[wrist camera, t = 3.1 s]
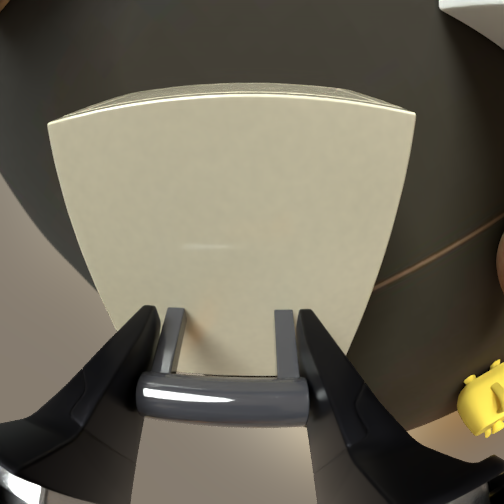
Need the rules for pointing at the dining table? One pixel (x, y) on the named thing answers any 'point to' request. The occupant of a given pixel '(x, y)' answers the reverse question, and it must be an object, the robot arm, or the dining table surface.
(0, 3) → the switch base
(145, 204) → the lid
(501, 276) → the fruit
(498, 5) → the milk carton
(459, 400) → the teapot
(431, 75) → the dining table surface
